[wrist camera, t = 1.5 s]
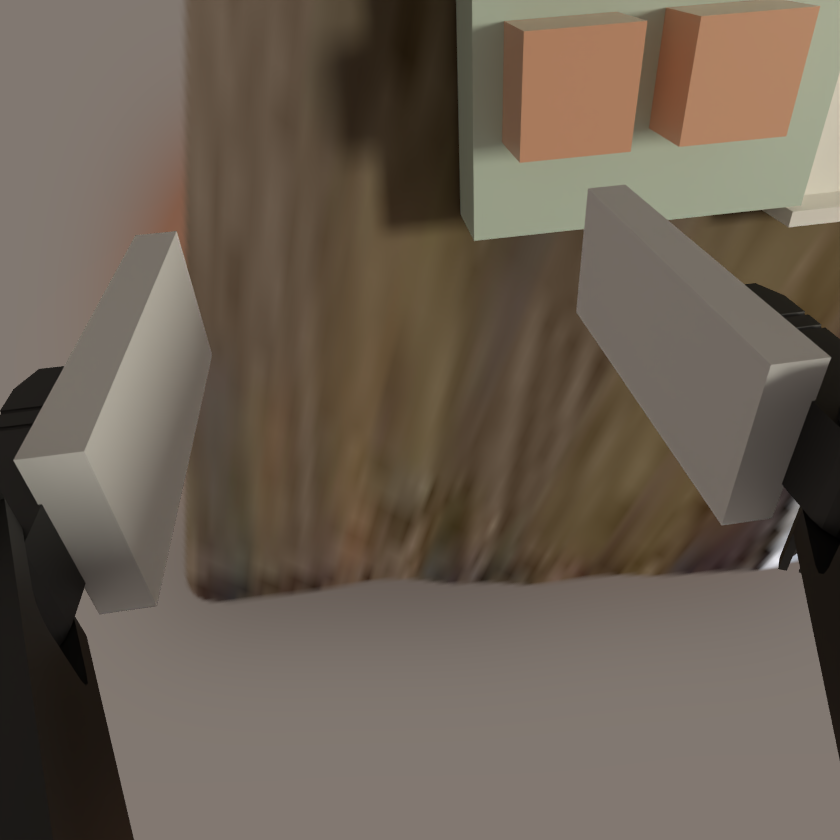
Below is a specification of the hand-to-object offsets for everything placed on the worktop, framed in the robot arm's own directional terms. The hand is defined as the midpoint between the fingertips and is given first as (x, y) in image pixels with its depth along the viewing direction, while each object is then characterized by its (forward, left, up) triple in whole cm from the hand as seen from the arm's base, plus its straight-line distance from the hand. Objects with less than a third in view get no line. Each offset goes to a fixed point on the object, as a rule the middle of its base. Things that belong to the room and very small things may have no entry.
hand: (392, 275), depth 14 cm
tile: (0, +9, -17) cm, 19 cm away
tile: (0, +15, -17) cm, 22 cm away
